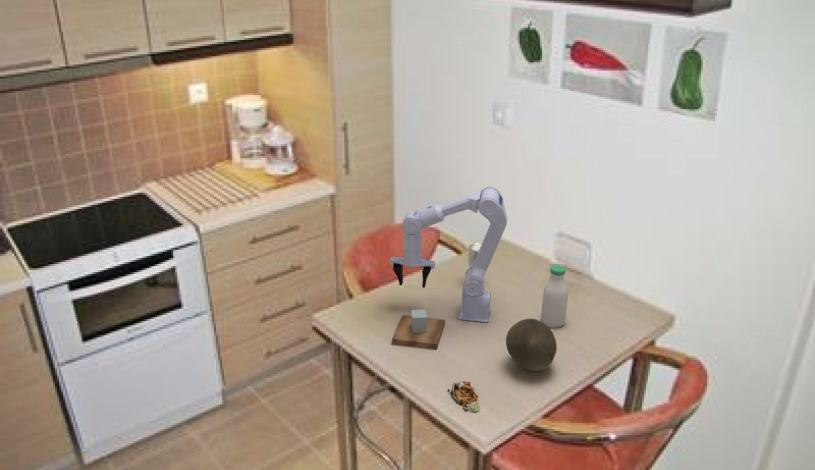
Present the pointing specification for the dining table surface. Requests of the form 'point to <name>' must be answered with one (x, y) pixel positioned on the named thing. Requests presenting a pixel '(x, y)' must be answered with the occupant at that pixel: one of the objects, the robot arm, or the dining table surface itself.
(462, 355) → the dining table surface
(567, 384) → the dining table surface
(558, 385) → the dining table surface
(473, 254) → the beer glass
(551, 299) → the milk bottle
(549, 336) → the dark brown coconut
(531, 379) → the dining table surface
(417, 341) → the board
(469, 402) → the turtle figurine
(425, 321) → the block
